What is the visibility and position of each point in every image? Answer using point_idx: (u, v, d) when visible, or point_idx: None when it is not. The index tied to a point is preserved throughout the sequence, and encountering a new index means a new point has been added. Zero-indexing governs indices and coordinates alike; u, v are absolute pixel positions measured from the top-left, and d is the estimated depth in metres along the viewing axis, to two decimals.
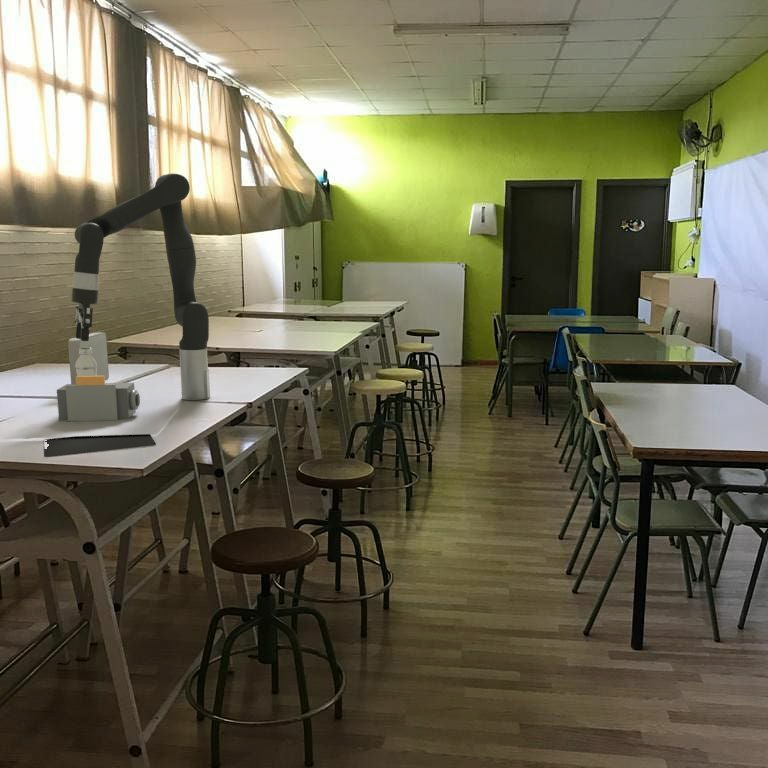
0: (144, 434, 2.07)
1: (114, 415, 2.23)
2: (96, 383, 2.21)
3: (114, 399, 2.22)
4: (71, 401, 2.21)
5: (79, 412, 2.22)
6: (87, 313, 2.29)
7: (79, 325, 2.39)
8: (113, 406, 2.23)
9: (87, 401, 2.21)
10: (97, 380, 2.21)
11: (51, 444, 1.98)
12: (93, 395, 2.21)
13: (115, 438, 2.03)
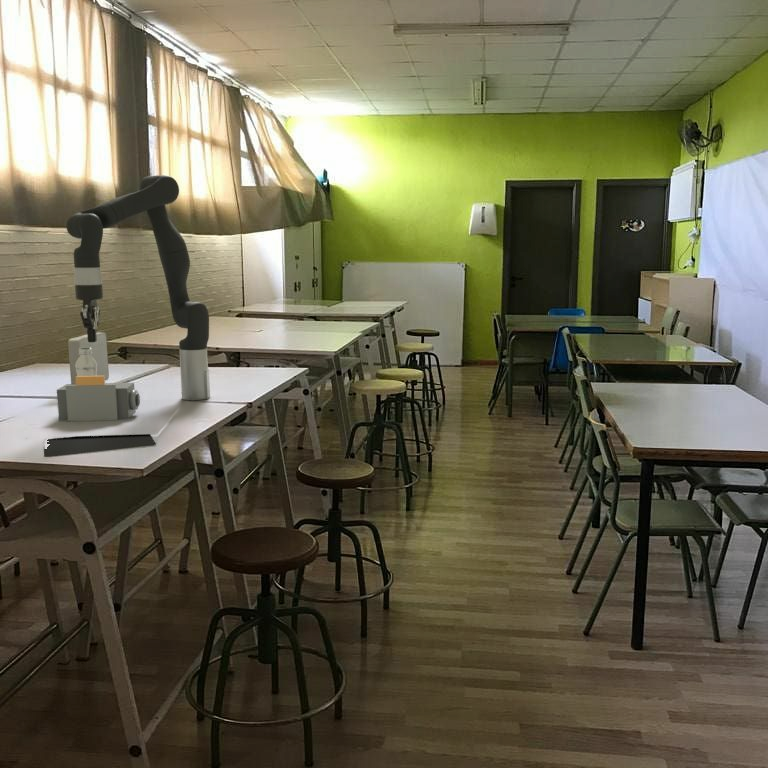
0: (144, 434, 2.07)
1: (114, 415, 2.23)
2: (96, 383, 2.21)
3: (114, 399, 2.22)
4: (71, 401, 2.21)
5: (79, 412, 2.22)
6: (85, 318, 2.18)
7: None
8: (113, 406, 2.23)
9: (87, 401, 2.21)
10: (97, 380, 2.21)
11: (51, 444, 1.98)
12: (93, 395, 2.21)
13: (115, 438, 2.03)
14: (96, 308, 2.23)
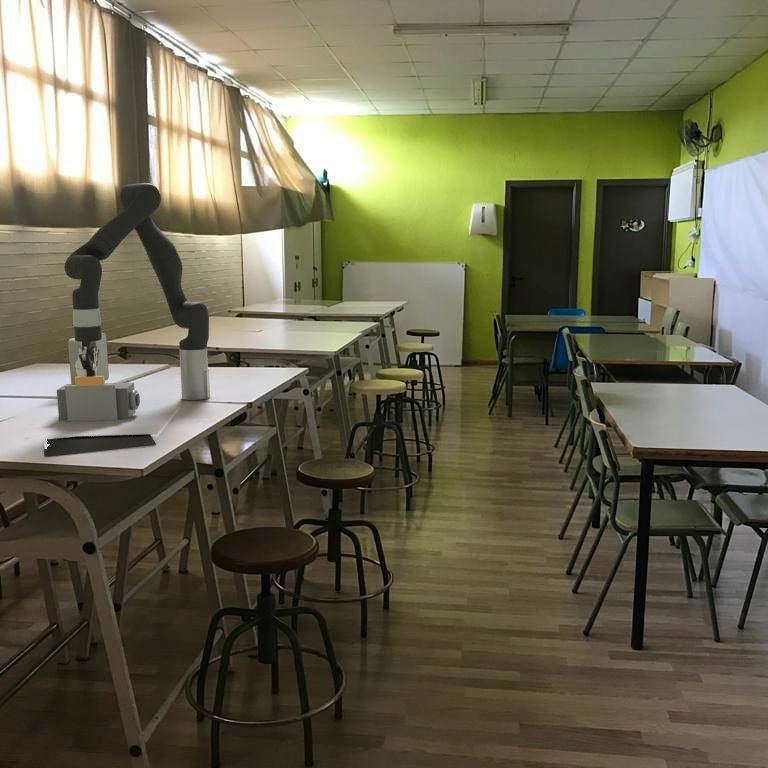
0: (144, 434, 2.07)
1: (114, 415, 2.23)
2: (95, 384, 2.20)
3: (114, 399, 2.22)
4: (70, 402, 2.21)
5: (79, 412, 2.22)
6: (84, 360, 2.17)
7: None
8: (113, 406, 2.22)
9: (87, 401, 2.21)
10: (97, 380, 2.20)
11: (51, 444, 1.98)
12: (93, 395, 2.21)
13: (115, 438, 2.03)
14: (95, 349, 2.22)
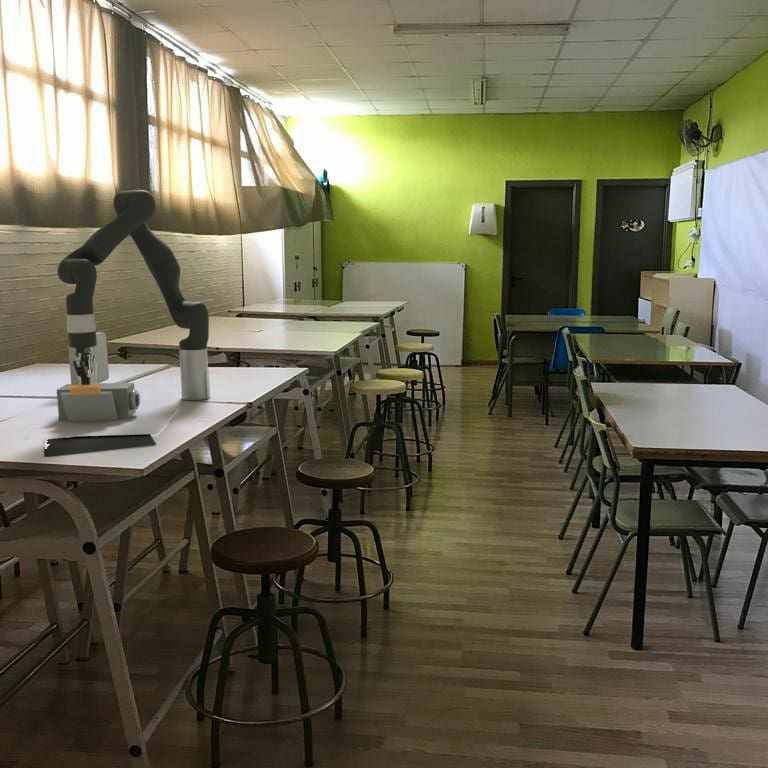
0: (144, 434, 2.07)
1: (114, 417, 2.22)
2: (91, 393, 2.16)
3: (112, 405, 2.19)
4: (68, 407, 2.18)
5: (78, 415, 2.21)
6: (78, 367, 2.11)
7: None
8: (112, 410, 2.21)
9: (85, 406, 2.19)
10: (92, 390, 2.15)
11: (51, 444, 1.98)
12: (90, 402, 2.18)
13: (115, 438, 2.03)
14: (90, 355, 2.16)
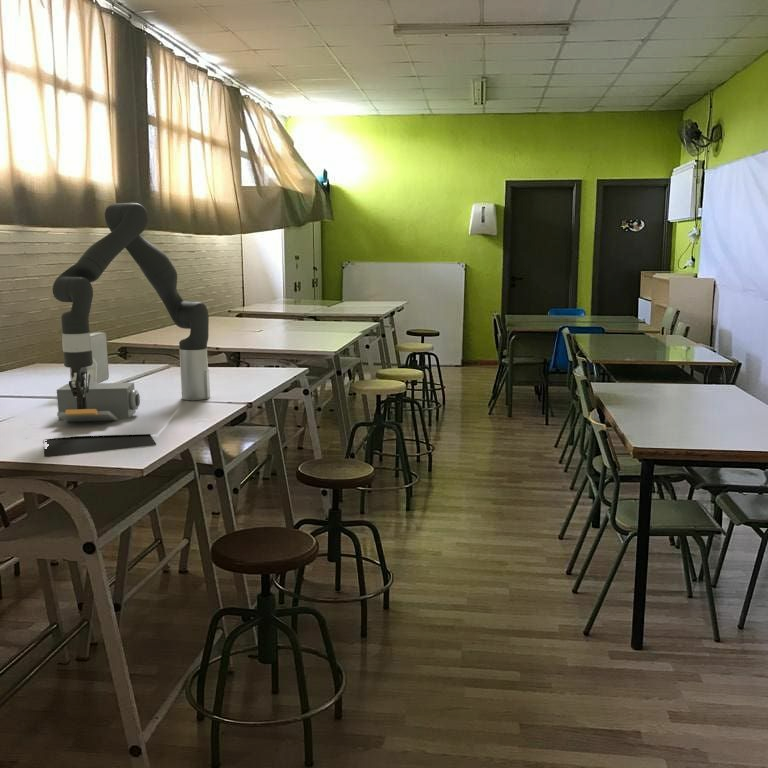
0: (144, 434, 2.07)
1: (114, 420, 2.22)
2: (89, 414, 2.12)
3: (111, 417, 2.18)
4: (67, 418, 2.17)
5: (78, 420, 2.20)
6: (74, 387, 2.06)
7: None
8: (111, 418, 2.20)
9: (83, 418, 2.17)
10: (89, 414, 2.11)
11: (51, 444, 1.98)
12: (88, 416, 2.16)
13: (115, 438, 2.03)
14: (86, 375, 2.11)
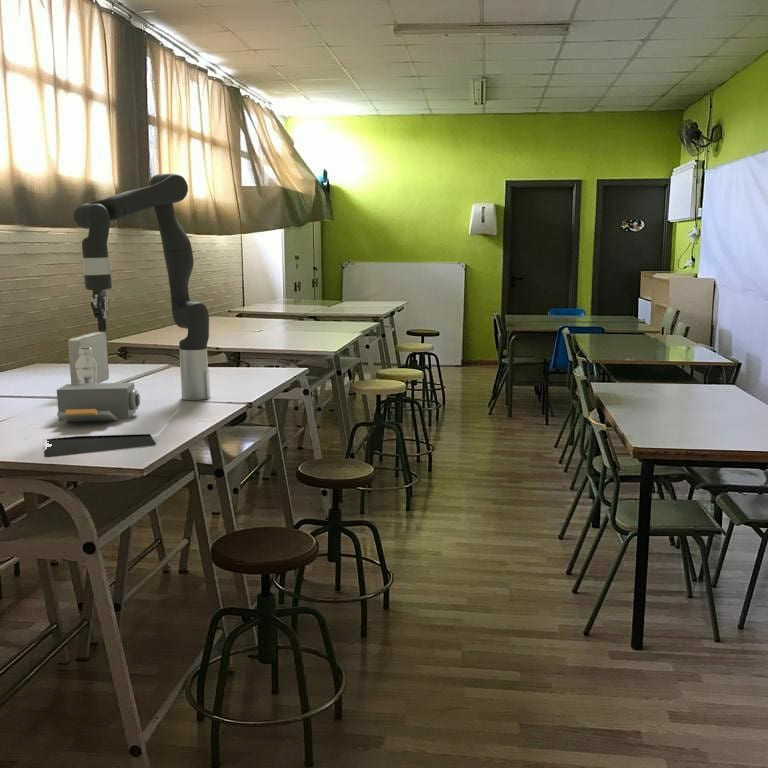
0: (144, 434, 2.07)
1: (114, 420, 2.22)
2: (89, 414, 2.12)
3: (111, 417, 2.18)
4: (67, 418, 2.17)
5: (78, 420, 2.20)
6: (95, 307, 2.20)
7: None
8: (111, 418, 2.20)
9: (83, 418, 2.17)
10: (89, 414, 2.11)
11: (52, 444, 1.98)
12: (88, 416, 2.16)
13: (115, 438, 2.03)
14: (105, 297, 2.26)
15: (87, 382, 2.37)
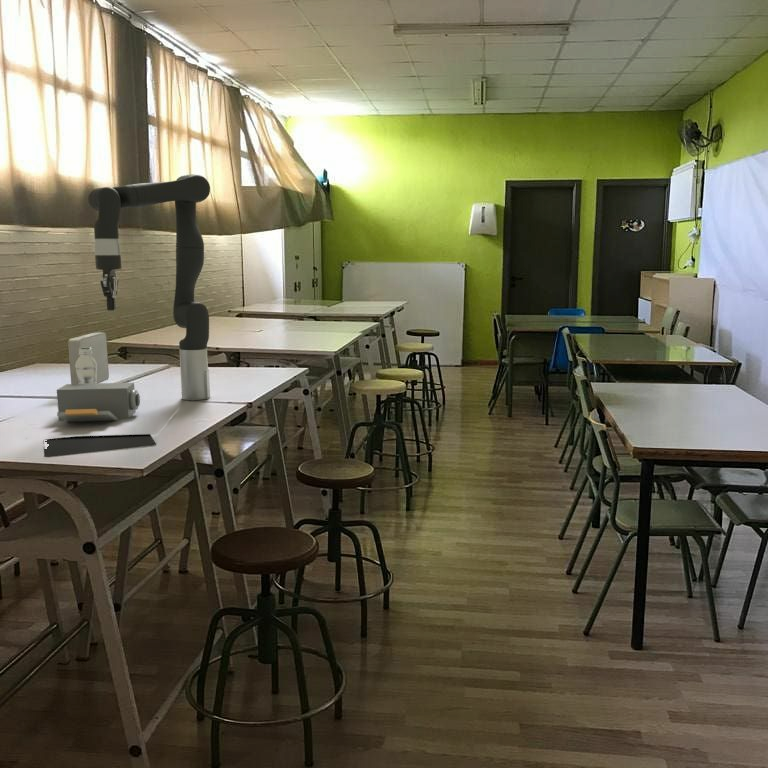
0: (144, 434, 2.07)
1: (114, 420, 2.22)
2: (89, 414, 2.12)
3: (111, 417, 2.18)
4: (67, 418, 2.17)
5: (78, 420, 2.20)
6: (105, 286, 2.29)
7: None
8: (111, 418, 2.20)
9: (83, 418, 2.17)
10: (89, 414, 2.11)
11: (51, 444, 1.98)
12: (88, 416, 2.16)
13: (115, 438, 2.03)
14: (115, 278, 2.35)
15: (87, 382, 2.37)
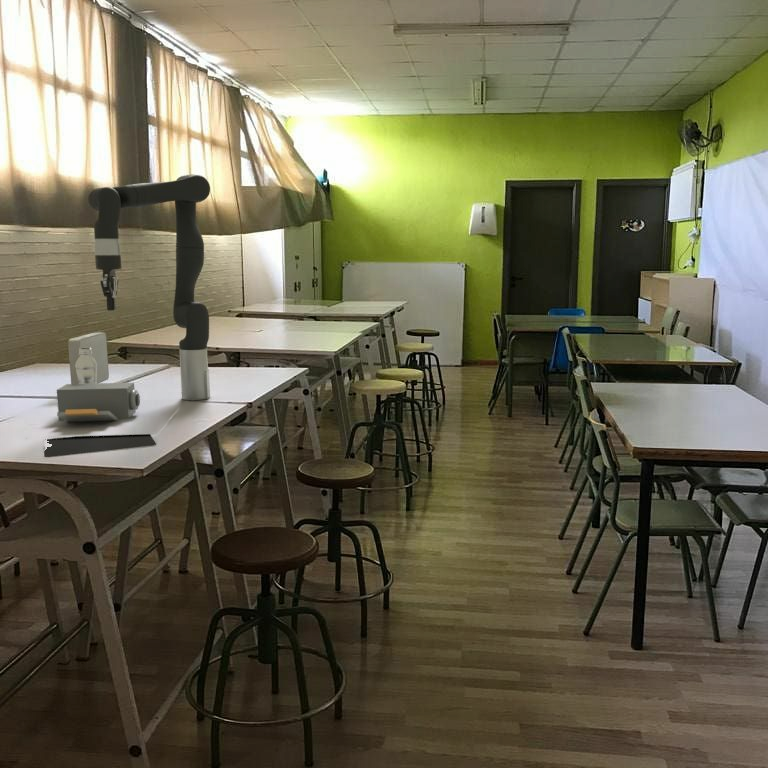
0: (144, 434, 2.07)
1: (114, 420, 2.22)
2: (89, 414, 2.12)
3: (111, 417, 2.18)
4: (67, 418, 2.17)
5: (78, 420, 2.20)
6: (105, 286, 2.29)
7: None
8: (111, 418, 2.20)
9: (83, 418, 2.17)
10: (89, 414, 2.11)
11: (52, 444, 1.98)
12: (88, 416, 2.16)
13: (115, 438, 2.03)
14: (115, 278, 2.35)
15: (87, 382, 2.37)
